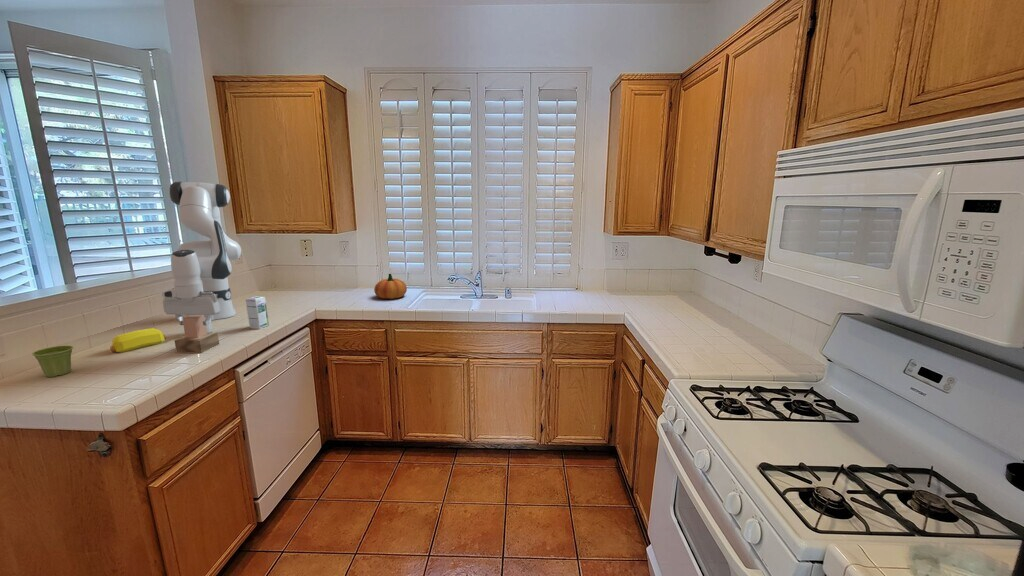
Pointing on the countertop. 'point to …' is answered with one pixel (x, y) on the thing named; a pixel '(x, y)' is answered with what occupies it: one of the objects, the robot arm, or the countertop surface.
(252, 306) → the syrup box
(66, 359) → the plant pot
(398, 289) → the pumpkin
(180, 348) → the pedestal
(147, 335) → the yellow long rounded bar
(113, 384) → the countertop surface
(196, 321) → the terracotta block
